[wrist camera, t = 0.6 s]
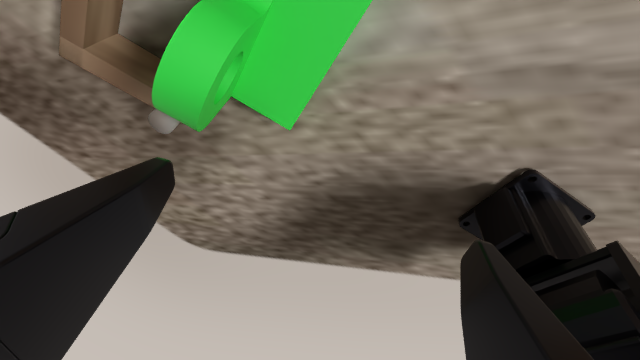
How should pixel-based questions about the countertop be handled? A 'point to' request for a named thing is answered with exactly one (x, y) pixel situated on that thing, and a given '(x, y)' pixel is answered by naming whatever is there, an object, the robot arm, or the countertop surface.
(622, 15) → the countertop surface
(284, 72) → the mechanical part
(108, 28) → the dock bracket
